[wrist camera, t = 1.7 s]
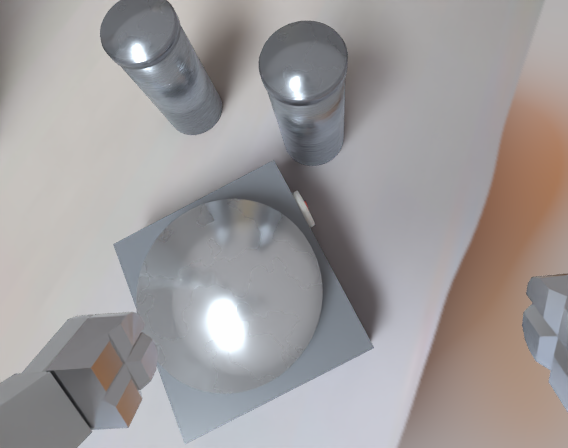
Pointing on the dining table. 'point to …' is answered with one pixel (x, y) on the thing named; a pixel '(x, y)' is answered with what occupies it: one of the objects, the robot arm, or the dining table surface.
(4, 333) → the dining table surface
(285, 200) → the scale
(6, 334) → the dining table surface
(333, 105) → the cylinder
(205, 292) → the pan
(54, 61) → the dining table surface
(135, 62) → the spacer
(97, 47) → the dining table surface
